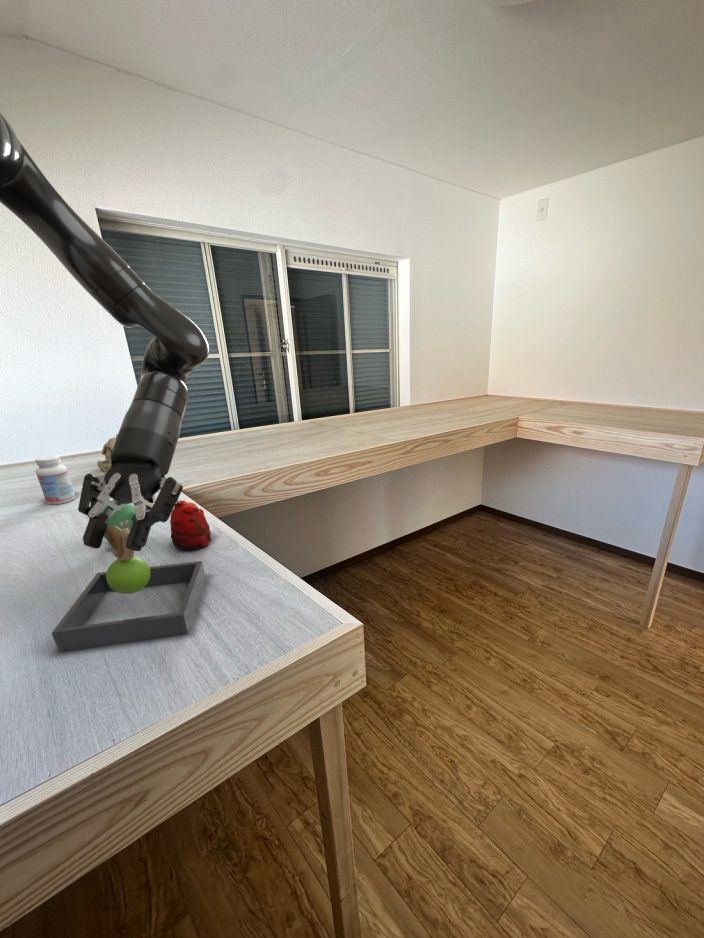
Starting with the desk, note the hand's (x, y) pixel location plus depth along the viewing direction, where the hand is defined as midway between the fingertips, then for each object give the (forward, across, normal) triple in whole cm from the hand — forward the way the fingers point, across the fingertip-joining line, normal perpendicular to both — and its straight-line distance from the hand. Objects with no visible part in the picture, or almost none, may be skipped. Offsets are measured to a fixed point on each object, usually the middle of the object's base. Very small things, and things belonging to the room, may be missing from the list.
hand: (112, 547), depth 56 cm
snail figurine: (+5, 0, +7) cm, 9 cm away
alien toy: (-7, -18, +25) cm, 32 cm away
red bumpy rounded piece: (-8, -4, +25) cm, 27 cm away
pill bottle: (-20, -50, +39) cm, 67 cm away
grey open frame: (+7, 0, +10) cm, 12 cm away
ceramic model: (-41, -55, +59) cm, 91 cm away
